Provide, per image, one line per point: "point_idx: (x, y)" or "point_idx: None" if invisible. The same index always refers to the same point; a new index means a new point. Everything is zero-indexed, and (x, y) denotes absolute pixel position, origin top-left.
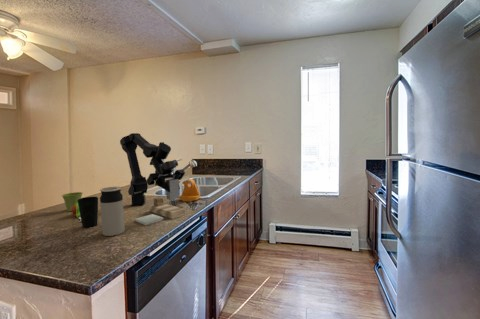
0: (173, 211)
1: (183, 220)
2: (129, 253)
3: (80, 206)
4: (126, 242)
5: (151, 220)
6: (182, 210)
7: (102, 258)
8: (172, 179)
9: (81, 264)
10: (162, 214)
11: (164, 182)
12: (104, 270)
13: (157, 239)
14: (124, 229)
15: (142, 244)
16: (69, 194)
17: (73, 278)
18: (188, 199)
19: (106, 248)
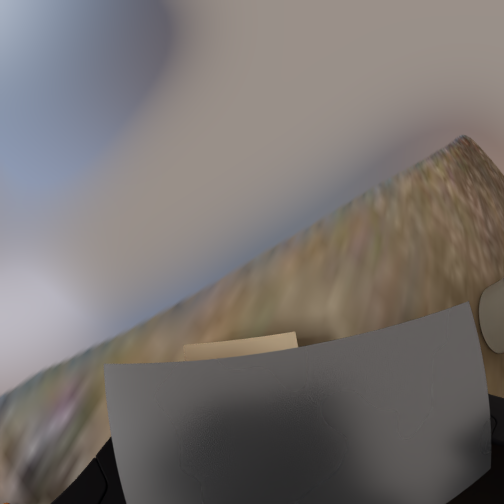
0: (277, 348)
1: (250, 269)
2: (447, 162)
3: None
4: (464, 217)
5: None
6: (204, 344)
7: (482, 183)
8: (319, 497)
9: (499, 189)
10: None
11: (493, 408)
12: (465, 147)
13: (398, 173)
14: (482, 305)
15: (430, 177)
16: None
17: (490, 161)
18: None
19: (490, 219)
